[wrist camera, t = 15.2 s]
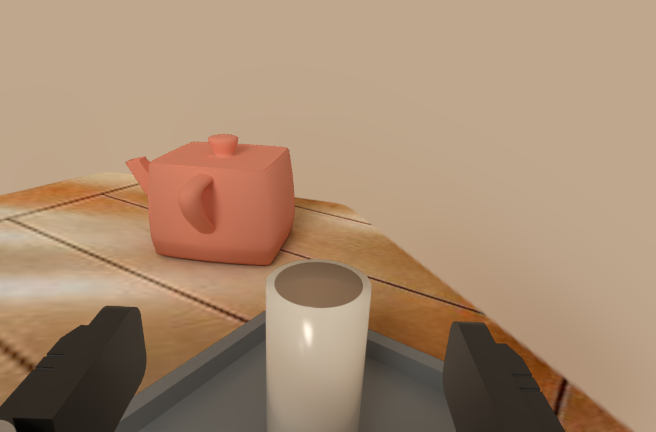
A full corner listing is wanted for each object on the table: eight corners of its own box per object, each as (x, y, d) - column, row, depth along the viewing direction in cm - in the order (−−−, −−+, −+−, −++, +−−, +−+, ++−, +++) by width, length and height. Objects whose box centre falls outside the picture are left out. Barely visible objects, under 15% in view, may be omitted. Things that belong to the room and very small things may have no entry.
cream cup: (247, 460, 27) (242, 286, 22) (303, 404, 31) (308, 249, 27) (322, 513, 24) (333, 327, 20) (371, 444, 28) (390, 278, 24)
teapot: (304, 217, 66) (304, 123, 61) (260, 293, 46) (256, 164, 41) (179, 206, 69) (169, 116, 64) (86, 274, 49) (61, 150, 44)
